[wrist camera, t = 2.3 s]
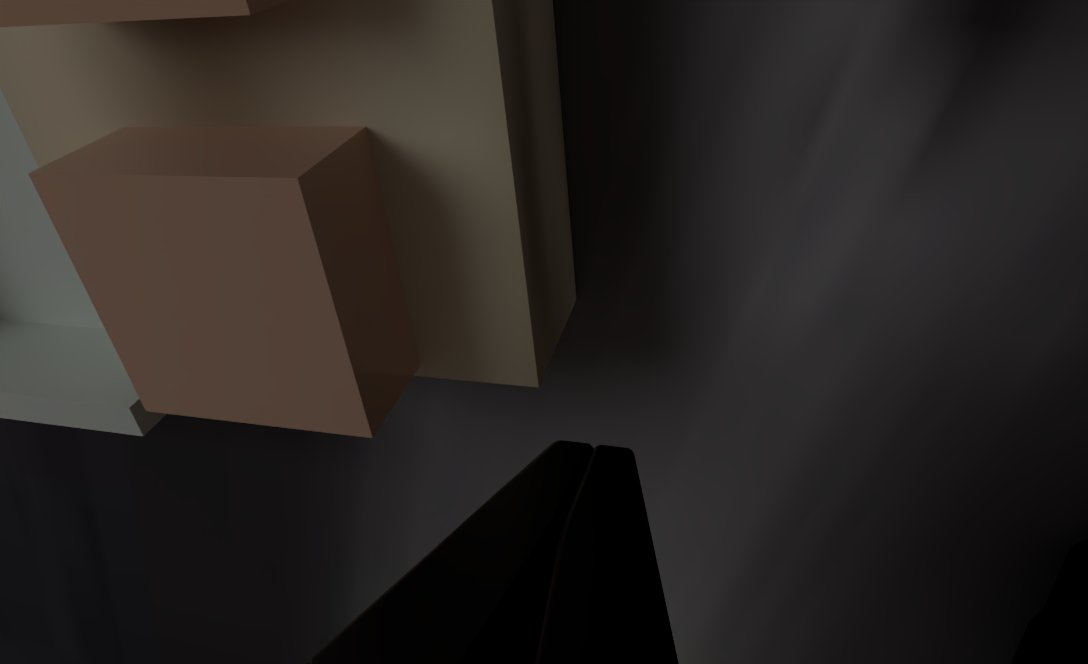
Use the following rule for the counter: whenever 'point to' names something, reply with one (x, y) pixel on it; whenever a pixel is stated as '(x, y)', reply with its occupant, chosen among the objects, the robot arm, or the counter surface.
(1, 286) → the tray
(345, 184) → the tile far
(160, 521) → the counter surface
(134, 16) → the tile near
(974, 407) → the counter surface
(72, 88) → the tan flat block
